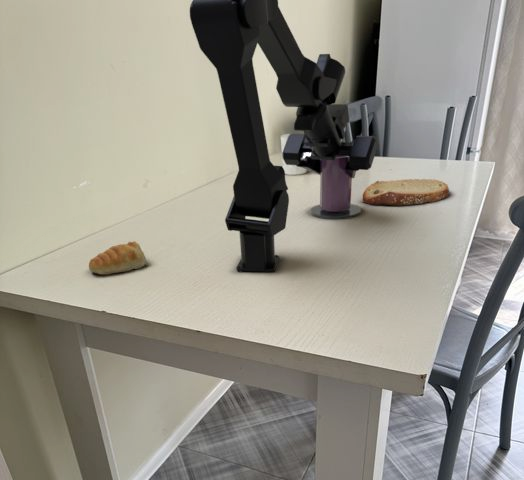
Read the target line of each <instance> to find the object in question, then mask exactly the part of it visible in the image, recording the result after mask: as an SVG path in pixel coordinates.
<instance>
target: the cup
mask: <svg viewBox="0 0 524 480" xmlns="http://www.w3.org/2000/svg"><path fill="white" fill-rule="evenodd" d="M347 161H348V158H347V155H337V156H336V158H335V159H334V160H321V172H320V175H319V177H320V180H319V205H320V208H321V209H322V210H325V211H331V212H339V211H345V210H348V209H350V207H351V204H352V186H353V185H352V184H353V178H352V177H350V175H349V174H348V173H347V172H346V170H345V167H346V164H347Z"/></svg>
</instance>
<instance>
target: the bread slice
mask: <svg viewBox="0 0 524 480" xmlns="http://www.w3.org/2000/svg"><path fill="white" fill-rule="evenodd" d="M449 195H450V188H449V186H448V184H447V183H445V182H444V181H442V180H439V179H435V178H434V179H433V178H432V179H429V178H428V179H426V178H422V179H419V178H412V179H411V178H409V179H397V180H376V181H375V182H372V183H371V184H370V185H368V186H367V187H366V188H365V190H364V191H363V192H362V202H363V203H365V204H369V205H373V206H375V205H378V206H379V205H381V206H399V207H400V206H412V205H413V206H414V205H423V204H425V203H426V204H427V203H432V202H437V201H441V200H443V199H446V197H448V196H449Z"/></svg>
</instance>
